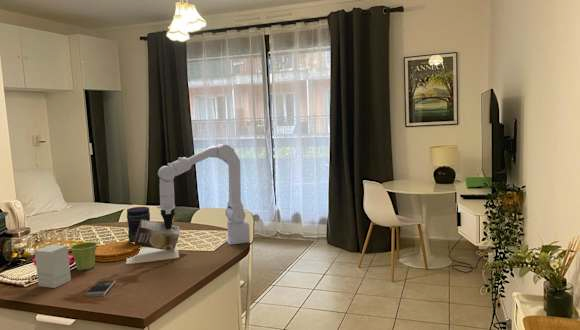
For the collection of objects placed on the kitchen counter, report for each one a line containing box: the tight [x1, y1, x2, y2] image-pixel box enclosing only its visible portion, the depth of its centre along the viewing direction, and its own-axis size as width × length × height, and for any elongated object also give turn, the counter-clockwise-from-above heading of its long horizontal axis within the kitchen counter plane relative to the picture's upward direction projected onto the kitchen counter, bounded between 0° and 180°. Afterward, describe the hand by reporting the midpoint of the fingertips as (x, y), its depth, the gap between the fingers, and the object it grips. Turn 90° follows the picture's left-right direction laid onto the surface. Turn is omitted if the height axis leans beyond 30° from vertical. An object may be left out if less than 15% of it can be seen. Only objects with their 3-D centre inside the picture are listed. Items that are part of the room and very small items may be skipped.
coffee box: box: [134, 220, 181, 251], centre depth 177 cm, size 9×6×16 cm
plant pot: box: [69, 241, 98, 271], centre depth 163 cm, size 9×9×9 cm
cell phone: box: [85, 280, 116, 298], centre depth 142 cm, size 6×11×1 cm, turn 4°
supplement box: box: [34, 244, 72, 289], centre depth 148 cm, size 7×7×13 cm
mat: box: [125, 243, 180, 265], centre depth 177 cm, size 20×18×1 cm
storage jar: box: [126, 206, 151, 242], centre depth 195 cm, size 10×10×15 cm
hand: (168, 227), depth 178 cm, fingers closed on coffee box, 4 cm apart
